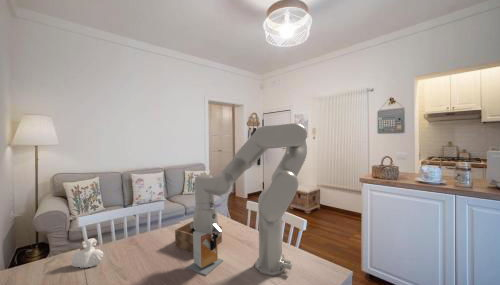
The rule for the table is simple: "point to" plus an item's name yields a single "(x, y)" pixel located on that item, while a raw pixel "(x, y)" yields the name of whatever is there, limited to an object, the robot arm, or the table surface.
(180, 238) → the wooden cubby frame
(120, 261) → the table surface
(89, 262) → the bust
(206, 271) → the pad
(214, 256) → the small box
